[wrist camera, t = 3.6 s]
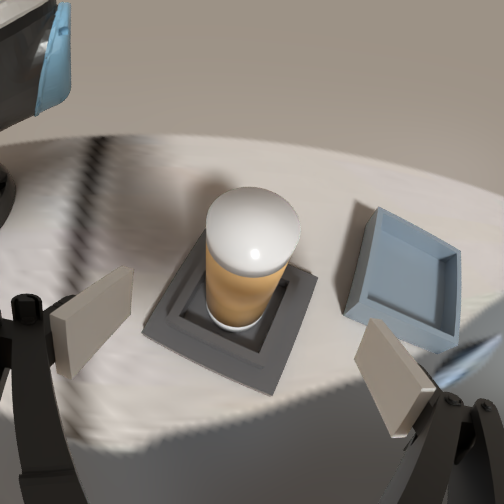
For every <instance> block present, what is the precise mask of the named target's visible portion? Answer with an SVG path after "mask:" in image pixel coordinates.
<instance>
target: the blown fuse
mask: <svg viewBox="0 0 504 504" xmlns="http://www.w3.org/2000/svg"><path fill="white" fill-rule="evenodd" d="M300 233H301V225H300V221H299V217H298V215H297V213H296V211H295V210H294V208H293V207H292V206H291V205H290V204H289V203H288V202H287V201H286V200H285V199H284V198H282V197H281V196H279V195H278V194H276V193H274V192H272V191H269V190H266V189H262V188H257V187H241V188H236V189H232V190H230V191H227V192H225V193H223V194H222V195H220V196H219V197H218V198H217V199H216V200H215V201H214V202H213V203H212V205H211V206H210V208H209V210H208V213H207V218H206V308H207V313H208V315H209V317H210V319H211V320H212V322H213V323H214V324H215V325H216V326H218V327H219V328H221V329H222V330H225V331H228V332H234V333H237V332H244V331H247V330H249V329H251V328H252V327H254V326H255V325H256V324H257V323H258V322H259V320H260V319H261V317H262V315H263V313H264V311H265V309H266V307H267V305H268V303H269V301H270V299H271V297H272V295H273V293H274V291H275V289H276V287H277V285H278V283H279V280H280V278H281V276H282V274H283V272H284V270H285V268H286V266H287V264H288V262H289V260H290V258H291V256H292V254H293V252H294V250H295V247H296V245H297V243H298V241H299V238H300Z"/></svg>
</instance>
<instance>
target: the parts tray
mask: <svg viewBox="0 0 504 504" xmlns="http://www.w3.org/2000/svg"><path fill="white" fill-rule="evenodd" d="M460 313H461V251H460V250H458V249H456V248H455V247H453V246H451V245H450V244H448V243H446V242H444V241H443V240H441V239H439V238H437V237H436V236H434V235H432V234H430V233H428V232H427V231H425V230H423V229H421V228H419V227H417V226H416V225H414V224H412V223H410V222H408V221H406V220H404V219H402V218H400V217H398V216H396V215H395V214H393V213H391V212H389V211H387V210H385V209H383V208H381V207H378V208H377V210H376V211H375V213H374V214H373V215H372V217H371V218H370V220H369V221H368V223H367V224H366V228H365V232H364V237H363V241H362V246H361V250H360V254H359V259H358V263H357V267H356V271H355V275H354V279H353V282H352V286H351V290H350V294H349V297H348V301H347V304H346V308H345V311H344V315H343V316H345V317H348V318H350V319H353V320H355V321H357V322H360V323H362V324H364V325H368V322H369V320H370V318H375V319H381V320H382V321H383V322H384V323H385V324H386V325H387V327H388V328H389V329H390V330H391V331H392V333H393V334H394V335H395V336H396V338H398V339H401V340H403V341H406V342H408V343H411V344H413V345H416V346H418V347H420V348H423V349H425V350H428V351H430V352H433V353H435V354H439V353H442V352H444V351H446V350H448V349H451V348H453V347H455V346H457V345H458V340H459V328H460Z"/></svg>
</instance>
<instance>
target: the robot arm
mask: <svg viewBox="0 0 504 504" xmlns="http://www.w3.org/2000/svg"><path fill="white" fill-rule="evenodd" d="M70 29H71V4H70V3H68V2H66V3H64V2H61V3H59V5H57V4H56V0H0V131H2V130H4V129H6V128H8V127H10V126H12V125H14V124H16V123H18V122H21V121H23V120H25V119H27V118H29V117H31V116H33V115H34V116H35V117H36V116H38V115H39V113H40V112H43V111H45V110H47V109H49V108H51V107H53V106H56V105H58V104H60V103H61V102H63V101H64V100H65V99H66V98H67V97H68V95H69V93H70V90H71V57H70V56H71V53H70V35H71V31H70ZM14 197H15V183H14V181H13V179H12V177H11V175H10V173H9V171H8V170H7V169H6V167H5V166H3V165H2V164H1V163H0V228H1V226H2V225H3V223H4V221H5V220H6V218H7V216H8V214H9V212H10V210H11V207H12V205H13V201H14ZM133 274H134V269H132V268H128V267H124V266H120V267H119V268H117V269H116V270H114V271H113V272H111V273H110V274H108V275H107V276H105V277H103V278H102V279H100V280H99V281H97V282H96V283H94V284H93V285H91V286H90V287H88V288H87V289H85V290H84V291H82V292H81V293H79V294H78V295H70V296H66V297H64V298H62V299H61V300H59V301H58V302H56V303H55V304H53V306H50V307H49V308H47V309H46V310H44V311H43V310H42V300H41V298H40V297H38V296H37V295H33V294H20V295H17V296H15V297H14V298H12V300H11V306H12V314H13V321H12V320H8V319H3V318H2V316H1V310H0V400H1V397H2V393H3V390H4V386H5V383H6V380H7V377H8V374H9V371H10V369H11V372H12V400H13V413H14V423H15V432H16V439H17V446H18V452H19V457H20V463H21V467H22V474H20V475H19V483H20V488H21V492H22V496H23V500H24V503H25V504H90V502H89V500H88V497H87V495H86V493H85V490H84V488H83V485H82V483H81V480H80V478H79V475H78V472H77V470H76V467H75V464H74V461H73V458H72V455H71V452H70V449H69V446H68V443H67V439H66V436H65V432H64V429H63V425H62V421H61V417H60V414H59V409H58V405H57V401H56V396H55V391H54V386H53V381H52V376H51V370H50V367H51V366H52V365H53V364H54V363H55V364H56V370H57V374H60V375H62V376H64V377H66V378H68V379H71V380H72V379H73V378H74V377H75V376H76V375H77V374H78V372H79V371H80V370H81V369H82V368H83V367H84V366H85V364H86V363H87V362H88V361H89V360H90V359H91V358H92V356H93V355H94V354H95V353H96V352H97V351H98V350H99V349H100V347H101V346H102V345H103V344H104V343H105V342H106V341H107V340H108V339H109V337H110V336H111V335H112V334H113V333H114V332H115V331H116V330H117V329H118V328H119V327H120V325H121V324H122V323H123V322H124V321H125V320H126V319H127V318H128V317H129V316H130V315H131V299H132V285H133ZM354 360H355V362H356V364H357V366H358V368H359V370H360V372H361V374H362V376H363V378H364V380H365V382H366V385H367V386H368V389H369V391H370V392H371V395H372V397H373V399H374V401H375V403H376V405H377V407H378V410H379V412H380V414H381V416H382V418H383V420H384V422H385V425H386V427H387V429H388V431H389V433H390V436H391V438H399V437H406V436H407V434H408V433H409V431H410V430H411V428H412V427H413V428H414V430H415V432H416V433H415V434H414V436H413V437H412V439H411V440H410V441H409V443H408V444H407V446H406V447H405V448H404V451H406V452H405V454H404V456H403V458H402V460H401V462H400V464H399V466H398V468H397V470H396V472H395V474H394V476H393V477H392V479H391V481H390V483H389V485H388V486H387V488H386V490H385V492H384V493H383V495H382V497H381V499H380V500H379V502H378V504H442V501H443V498H444V495H445V492H446V488H447V485H448V504H504V428H503V425H502V422H501V419H500V416H499V413H498V410H497V408H496V406H495V405H494V404H493V402H491V401H489V400H486V399H481V398H480V399H478V400H477V401H476V402H475V404H474V405H473V407H468V406H464V403H463V401H462V400H461V399H460V398H459V397H458V396H457V395H454V394H453V393H450V392H442V390H441V389H440V388H439V386H438V385H437V384H436V383H435V381H434V380H433V379H432V377H431V376H430V375H428V372H427V371H426V370H425V369H424V368H423V367H422V366H421V365H420V364H418V363H417V362H416V361H415V360H414V359H413V357H412V356H411V355H410V354H409V352H408V351H407V350H406V349H405V347H404V346H403V345H402V344H401V342H400V341H399V340H398V339H397V338H396V336H395V335H394V334H393V333H392V331H391V330H390V329H389V328H388V327H387V325H386V324H385V323H384V322H383V321H382V320H381V319H375V318H370V320H369V322H368V325H367V328H366V330H365V333H364V335H363V338H362V341H361V343H360V346H359V348H358V351H357V353H356V355H355V358H354Z"/></svg>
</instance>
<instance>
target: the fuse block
mask: <svg viewBox="0 0 504 504" xmlns="http://www.w3.org/2000/svg"><path fill="white" fill-rule="evenodd" d="M317 279H318V277H316V276H314V275H311V274H309V273H307V272H305V271H302V270H300V269H298V268H296V267H293V266H291V265H289V264H287V266H286V268H285V270H284V272H283V274H282V276H281V278H280V280H279V283H278V285H277V287H276V289H275V291H274V293H273V295H272V297H271V299H270V301H269V303H268V305H267V307H266V309H265V311H264V313H263V315H262V317H261V319H260V320H259V322H258V323H257V324H256V325H255V326H254V327H252V328H251V329H249V330H247V331H244V332H237V333H234V332H228V331H225V330H222V329H221V328H219V327H218V326H216V325H215V324H214V323H213V322H212V320H211V319H210V317H209V315H208V313H207V308H206V228H205V230H204V232H203V233H202V235H201V236H200V238H199V239H198V241H197V242H196V244H195V245H194V247H193V249H192V250H191V252H190V253H189V255H188V256H187V258H186V260H185V261H184V263H183V264H182V266H181V268H180V269H179V271H178V272H177V274H176V276H175V277H174V279H173V280H172V282H171V284H170V285H169V287H168V289H167V290H166V292H165V294H164V295H163V297H162V298H161V300H160V302H159V303H158V305H157V307H156V308H155V310H154V312H153V313H152V315H151V317H150V319H149V320H148V322H147V324H146V325H145V327H144V329H143V331H142V332H141V333H142V334H143V335H144V336H145V337H147V338H149V339H150V340H152V341H154V342H156V343H158V344H159V345H161V346H163V347H165V348H167V349H169V350H171V351H173V352H174V353H176V354H178V355H180V356H182V357H184V358H186V359H188V360H190V361H192V362H194V363H196V364H198V365H200V366H202V367H204V368H206V369H208V370H210V371H213V372H215V373H217V374H219V375H221V376H223V377H225V378H228V379H230V380H232V381H234V382H237V383H239V384H241V385H244V386H246V387H248V388H251V389H253V390H255V391H258V392H260V393H263V394H265V395H268V396H273V393H274V391H275V389H276V386H277V384H278V382H279V379H280V377H281V375H282V372H283V370H284V367H285V365H286V362H287V360H288V357H289V355H290V352H291V350H292V347H293V345H294V342H295V340H296V337H297V334H298V332H299V329H300V326H301V324H302V321H303V319H304V316H305V313H306V310H307V308H308V305H309V302H310V299H311V297H312V294H313V291H314V288H315V285H316V282H317Z"/></svg>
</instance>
